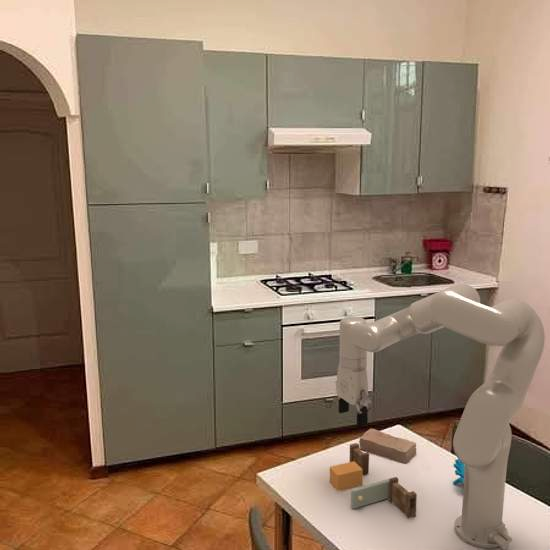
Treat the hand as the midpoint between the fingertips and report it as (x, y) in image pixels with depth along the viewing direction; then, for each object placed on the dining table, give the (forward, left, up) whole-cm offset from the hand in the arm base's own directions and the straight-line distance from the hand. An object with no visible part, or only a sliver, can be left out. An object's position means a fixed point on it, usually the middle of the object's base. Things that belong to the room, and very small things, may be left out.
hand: (352, 418), depth 165 cm
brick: (+10, -19, -20) cm, 30 cm away
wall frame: (-7, -5, -19) cm, 21 cm away
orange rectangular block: (-1, +2, -20) cm, 20 cm away
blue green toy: (-16, -28, -20) cm, 38 cm away
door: (-13, 0, -19) cm, 23 cm away
